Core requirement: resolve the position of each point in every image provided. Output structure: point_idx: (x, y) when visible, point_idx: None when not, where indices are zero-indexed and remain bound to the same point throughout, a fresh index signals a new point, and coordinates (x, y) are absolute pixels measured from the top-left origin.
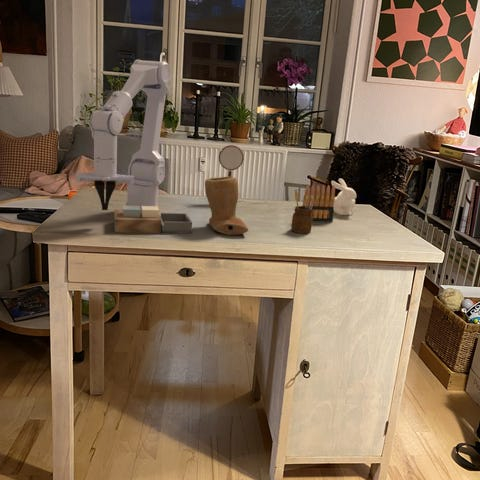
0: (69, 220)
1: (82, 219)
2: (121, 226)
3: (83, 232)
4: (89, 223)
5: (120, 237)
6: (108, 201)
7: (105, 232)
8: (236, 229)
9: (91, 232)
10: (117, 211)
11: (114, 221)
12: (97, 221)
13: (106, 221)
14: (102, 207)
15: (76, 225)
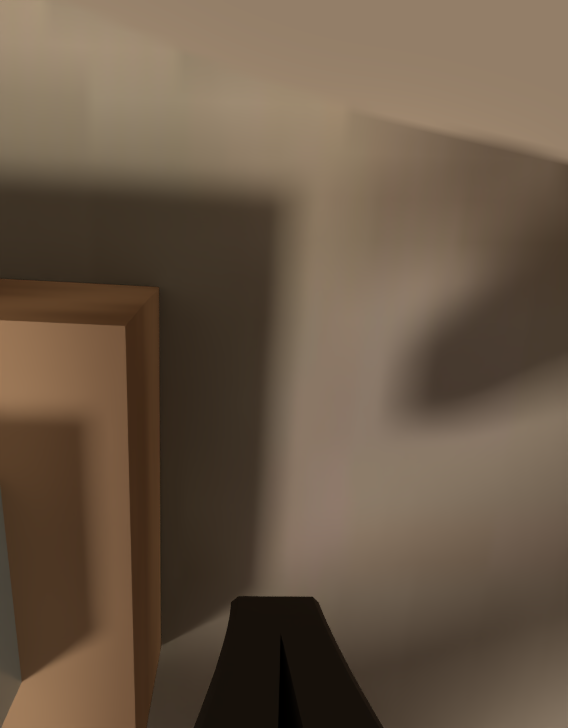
0: (561, 671)
1: (446, 705)
2: (53, 296)
3: (502, 283)
4: (400, 596)
5: (84, 46)
6: (208, 721)
7: (264, 282)
8: None
9: (418, 283)
10: (93, 721)
11: (147, 492)
12: None
13: None
14: (319, 623)
15: (529, 528)
